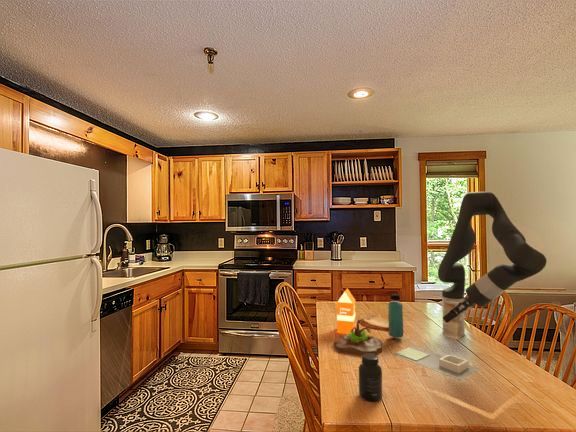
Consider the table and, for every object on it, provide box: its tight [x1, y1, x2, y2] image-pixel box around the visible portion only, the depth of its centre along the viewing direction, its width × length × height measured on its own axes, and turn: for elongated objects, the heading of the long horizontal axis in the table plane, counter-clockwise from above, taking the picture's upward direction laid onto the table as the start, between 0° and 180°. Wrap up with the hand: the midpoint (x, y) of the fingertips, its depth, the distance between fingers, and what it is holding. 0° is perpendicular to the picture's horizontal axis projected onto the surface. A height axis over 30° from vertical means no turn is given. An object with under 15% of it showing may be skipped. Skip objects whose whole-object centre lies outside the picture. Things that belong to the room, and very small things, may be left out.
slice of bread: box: [359, 315, 389, 332], centre depth 164 cm, size 18×18×4 cm
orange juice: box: [336, 288, 356, 335], centre depth 156 cm, size 8×9×20 cm
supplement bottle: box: [358, 353, 383, 403], centre depth 96 cm, size 7×7×12 cm
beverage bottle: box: [387, 293, 404, 339], centre depth 145 cm, size 6×7×20 cm
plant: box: [333, 318, 383, 357], centre depth 136 cm, size 20×20×11 cm
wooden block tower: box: [444, 301, 463, 340], centre depth 114 cm, size 4×4×12 cm
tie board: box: [392, 345, 480, 381], centre depth 119 cm, size 14×26×4 cm, turn 36°
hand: (447, 318), depth 115 cm, fingers closed on wooden block tower, 4 cm apart
